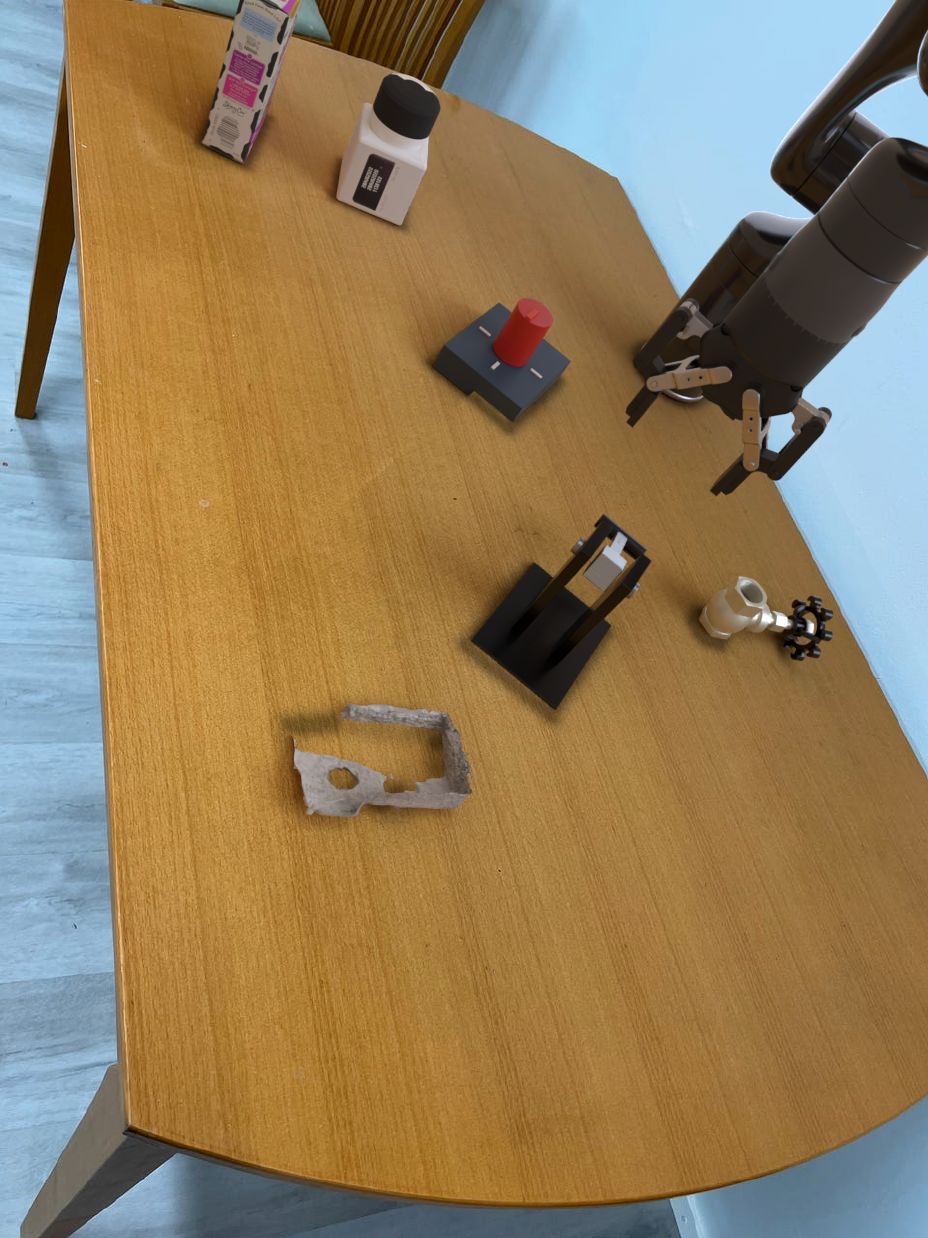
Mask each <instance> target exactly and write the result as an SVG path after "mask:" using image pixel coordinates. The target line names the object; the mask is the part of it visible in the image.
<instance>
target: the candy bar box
mask: <svg viewBox="0 0 928 1238" xmlns="http://www.w3.org/2000/svg"><path fill="white" fill-rule="evenodd" d="M302 3H303V0H239V2H238V4H237V9H236V12H235V16H234V20H233V23H232V26H231V31H230V35H229V38H228V41H227V46H226V50H225V54H224V58H223V62H222V65H221V70H220V71H219V72H220V73H219V76H218V80H217V84H216V87H215V88H216V89H215V92H214V95H213V99H212V103H211V107H210V111H209V113H208V118H207V122H206V124H205V125H206V126H205V128H204V129H205V130H204V133H203V137H202V140H201V145H203V146H205V147H206V148H208V149H211V150H212V151H215V152H217V153H219V154H221V155H223V156H225V157H228V158H229V159H231V160H233V161H235V162H237V163H239V164H241V165H244V164H245V163H246V161H247V158H248V157H249V154H250V153H251V150H252V148H253V145H254V143H255V141H256V139H257V138H258V135H259V133H260V131H261V128H262V127H263V124H264V122H265V120H266V117H267V115H268V112H269V108H270V105H271V102H272V99H273V96H274V94H275V93H274V92H275V90H276V86H277V83H278V79H279V76H280V74H281V70H282V67H283V64H284V60H285V57H286V54H287V51H288V47H289V44H290V41H291V38H292V35H293V32H294V28H295V25H296V23H297V20H298V16H299V13H300V10H301V7H302Z"/></svg>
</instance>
